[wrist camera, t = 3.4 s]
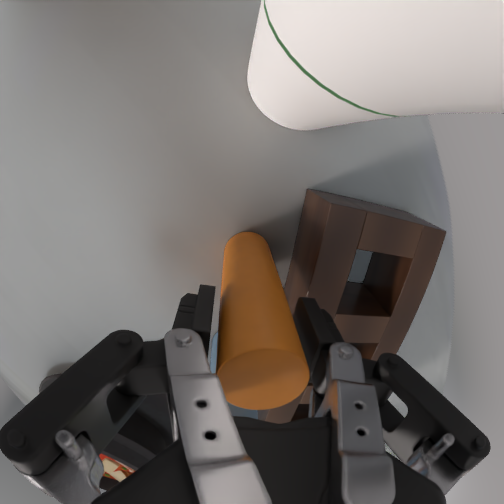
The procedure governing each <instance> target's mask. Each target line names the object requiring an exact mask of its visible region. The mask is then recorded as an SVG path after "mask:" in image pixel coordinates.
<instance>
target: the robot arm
mask: <svg viewBox="0 0 504 504" xmlns="http://www.w3.org/2000/svg"><path fill="white" fill-rule="evenodd" d="M215 287H216V286H208V285H201V284H200V287H199V292H198V295H197V294H190V293H187V294H186V295H185V296H183V297H182V298H181V301H180V304H179V307H178V311H177V314H176V317H175V321H174V324H173V327H172V330H170V331H169V332H167V333H166V335H165V337H164V339H161V340H158V341H146V342H143V340H142V338H141V336H140V335H139V334H137V333H136V332H133V331H130V330H118V331H115V332H113V333H111V334H109V335H108V336H107V337H106V338H105V339H103V340H102V341H101V342H100V343H99V344H97V345H96V346H95V347H94V348H93V349H91V350H90V351H89V352H88V353H87V354H85V355H84V356H83V357H82V358H81V359H79V360H78V361H77V362H76V363H75V364H74V365H72V366H71V367H70V368H69V369H68V370H66V371H65V372H64V373H63V374H62V375H61V376H59V377H58V378H57V379H56V380H55V381H54V382H53V383H51V384H50V385H49V386H48V387H47V388H46V389H44V390H43V391H42V392H41V393H40V394H39V395H38V396H36V397H35V398H34V399H33V400H32V401H31V402H30V403H29V404H27V405H26V406H25V407H24V408H23V409H22V410H21V411H20V412H18V413H17V414H16V415H15V416H14V417H13V418H12V419H11V420H10V421H9V422H7V423H6V424H5V425H4V426H3V427H2V429H1V430H0V449H1V451H2V452H3V454H4V455H5V456H6V457H7V458H8V459H9V460H10V461H11V462H12V463H13V464H14V466H15V467H16V469H17V470H18V471H19V472H21V474H23V476H25V477H26V478H27V479H28V480H29V481H30V482H32V484H33V485H35V486H36V487H38V488H39V489H41V490H42V491H43V492H44V493H45V494H47V495H49V496H51V497H54V498H56V499H57V500H58V501H59V502H61V503H62V504H446V499H445V494H446V493H447V492H448V491H449V490H450V489H451V488H452V487H453V486H454V485H455V484H456V482H457V481H458V480H459V479H460V478H462V477H463V476H464V475H465V474H467V473H468V472H469V471H470V470H471V469H472V468H473V467H475V466H476V465H477V464H478V463H479V462H480V461H481V460H483V459H484V458H485V457H486V456H487V455H488V454H489V452H490V442H489V440H488V438H487V437H486V436H485V435H484V434H483V433H482V432H481V431H480V430H479V429H478V428H477V427H476V426H475V425H474V424H473V423H472V422H471V421H470V420H469V419H468V418H466V417H465V416H464V415H463V414H462V413H461V412H460V411H459V410H458V409H457V408H456V407H455V406H454V405H453V404H452V403H450V402H449V401H448V400H447V399H446V398H445V397H444V396H443V395H442V394H441V393H440V392H439V391H437V390H436V389H435V388H434V387H433V386H432V385H431V384H430V383H429V382H428V381H427V380H425V379H424V378H423V377H422V376H421V375H420V374H419V373H418V372H417V371H416V370H414V369H413V368H412V367H411V366H410V365H409V364H408V363H407V362H406V361H404V360H403V359H402V358H401V357H399V356H398V355H396V354H393V353H383V354H381V355H380V356H379V358H378V360H377V361H374V360H370V359H365V358H362V357H361V353H360V351H359V350H358V349H357V348H356V347H354V346H353V345H351V344H348V343H345V341H344V340H343V338H342V336H341V334H340V332H339V330H338V328H337V326H336V324H335V323H334V320H333V319H332V317H331V315H330V314H329V313H328V312H327V311H326V310H324V309H320V307H319V305H318V303H317V301H316V299H315V298H308V297H299V298H298V300H297V304H296V307H295V311H294V314H293V320H294V323H295V326H296V329H297V333H298V336H299V339H300V342H301V345H302V348H303V351H304V354H305V358H306V361H307V364H308V367H309V371H310V378H309V382H308V383H313V388H312V390H311V392H310V402H309V415H308V418H304V419H300V420H295V421H291V422H287V423H282V424H277V423H272V422H267V421H263V420H258V419H254V418H250V417H240V416H232V414H231V411H230V408H229V405H228V403H227V400H226V397H225V394H224V391H223V388H222V385H221V382H220V380H219V377H218V375H217V374H216V373H212V372H211V369H210V366H209V363H208V349H209V341H210V332H211V322H212V313H213V304H214V295H215ZM392 392H394V393H395V394H396V395H397V396H398V397H399V398H400V399H401V400H402V401H403V402H404V403H405V404H406V405H407V407H408V413H407V415H406V417H405V418H404V417H403V416H402V415H401V414H400V413H399V412H398V411H397V409H396V408H395V407H394V406H393V405H392V404H391V403H390V402H389V401H388V398H389V397H390V395H391V394H392ZM155 394H166V395H167V402H168V408H169V415H170V420H171V427H172V435H173V441H174V443H172V444H171V445H170V446H168V447H167V448H166V449H165V450H163V451H162V452H161V453H159V454H158V455H157V456H155V457H154V458H153V459H151V460H150V461H149V462H147V463H146V464H145V465H143V466H142V467H141V468H139V469H138V470H136V471H135V472H134V473H132V474H131V475H129V476H128V477H126V478H125V479H124V480H122V481H121V482H119V483H118V484H116V485H115V486H113V487H112V488H110V489H109V490H107V491H106V492H104V493H102V494H101V492H100V488H99V483H100V480H101V478H102V476H103V473H104V465H103V462H102V460H101V459H100V457H99V455H100V454H101V453H102V451H103V450H104V449H105V448H106V446H107V445H108V444H109V443H110V441H111V440H112V439H113V438H114V436H115V435H116V434H117V433H118V432H119V430H120V429H121V428H122V427H123V425H124V424H125V423H126V422H127V420H128V419H129V418H130V417H131V415H132V414H133V413H134V412H135V410H136V409H137V408H138V407H139V405H140V404H141V403H142V402H143V400H144V399H145V398H146V396H147V395H155ZM384 442H385V443H386V444H387V445H388V446H389V448H390V449H391V450H392V451H393V452H394V453H395V455H396V456H397V457H398V458H399V459H400V460H401V461H402V462H401V461H400V460H398V459H397V458H395V457H394V456H392V455H391V454H389V453H388V452H386V451H385V445H384Z"/></svg>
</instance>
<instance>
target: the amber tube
mask: <svg viewBox="0 0 504 504" xmlns="http://www.w3.org/2000/svg"><path fill="white" fill-rule="evenodd" d="M216 374H217V375H218V377H219V380H220V382H221V385H222V388H223V391H224V394H225V397H226V400H227V401H228V402H229V403H231V404H233V405H235V406H237V407H241V408H244V409H250V410H266V409H272V408H276V407H280V406H282V405H285V404H287V403H289V402H291V401H293V400H294V399H296V398H297V397H298V396H299V395H300V394H301V393H302V392H303V391H304V390H305V388H306V386H307V385H308V382H309V378H310V371H309V367H308V364H307V361H306V358H305V354H304V351H303V348H302V345H301V342H300V339H299V336H298V333H297V329H296V326H295V323H294V320H293V317H292V314H291V311H290V308H289V305H288V302H287V299H286V296H285V293H284V290H283V287H282V284H281V281H280V278H279V275H278V272H277V269H276V266H275V263H274V260H273V257H272V254H271V251H270V248H269V245H268V243H267V242H266V240H265V239H264V238H263V237H262V236H260V235H259V234H257V233H254V232H241V233H238V234H236V235H234V236H233V237H232V238H231V239H230V240H229V241H228V242H227V244H226V246H225V250H224V260H223V272H222V285H221V298H220V311H219V326H218V341H217V357H216Z"/></svg>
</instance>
